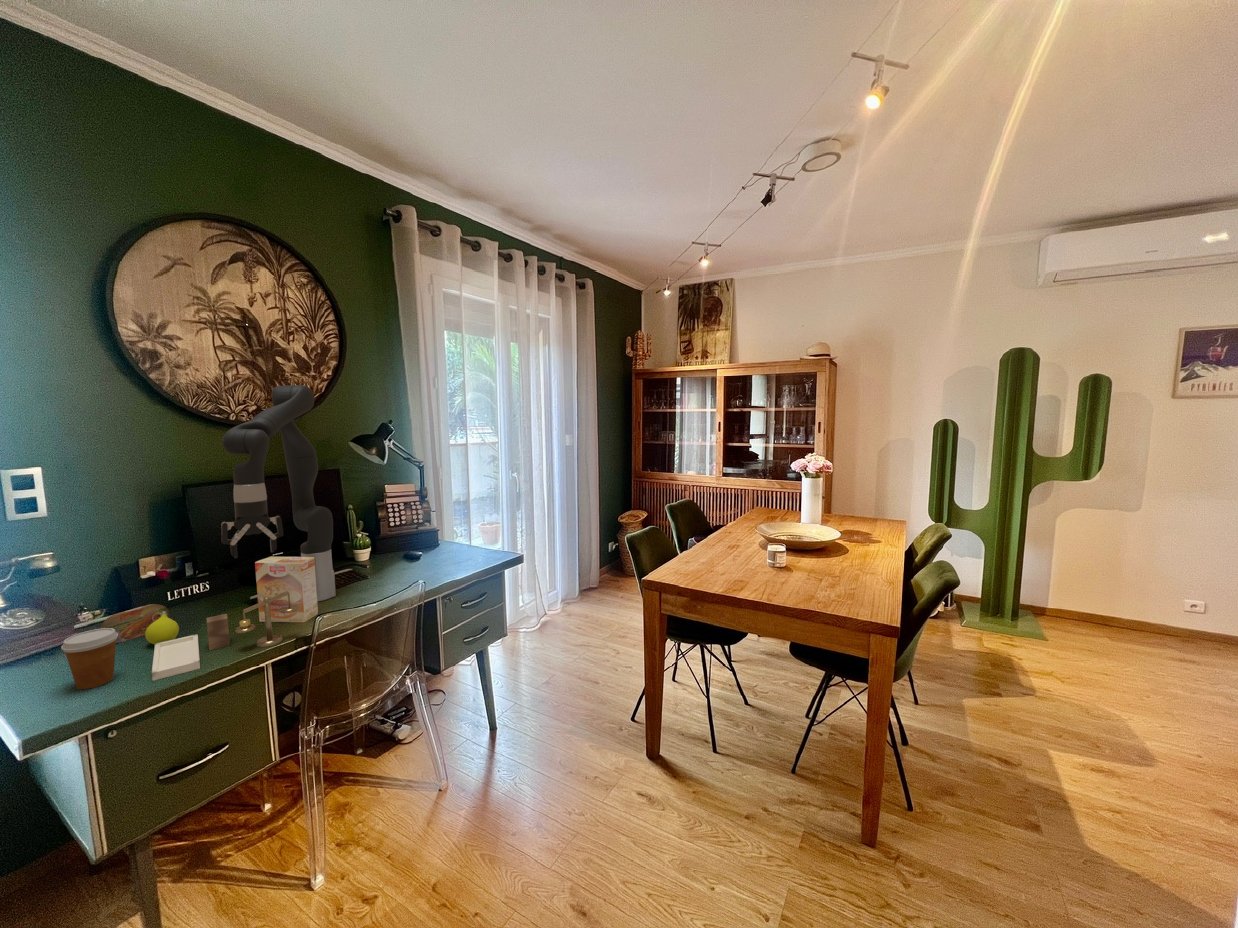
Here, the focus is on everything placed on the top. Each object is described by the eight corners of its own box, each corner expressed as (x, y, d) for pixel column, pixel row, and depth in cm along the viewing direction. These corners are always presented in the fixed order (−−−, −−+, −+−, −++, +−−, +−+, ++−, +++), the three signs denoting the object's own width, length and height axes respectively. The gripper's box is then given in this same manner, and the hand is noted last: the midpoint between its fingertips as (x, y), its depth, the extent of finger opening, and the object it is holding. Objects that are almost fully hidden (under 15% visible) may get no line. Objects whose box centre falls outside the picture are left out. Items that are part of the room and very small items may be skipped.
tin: (104, 647, 140) (101, 619, 139) (100, 645, 141) (96, 617, 140) (171, 627, 153) (168, 600, 152) (166, 625, 154) (164, 599, 154)
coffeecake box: (258, 622, 156) (253, 562, 154) (275, 613, 163) (270, 555, 161) (304, 622, 156) (300, 562, 154) (318, 613, 163) (315, 556, 161)
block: (228, 639, 144) (226, 613, 143) (230, 645, 141) (227, 618, 140) (208, 644, 141) (206, 617, 140) (209, 650, 138) (207, 622, 137)
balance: (299, 631, 149) (295, 586, 148) (302, 638, 145) (299, 591, 143) (235, 647, 139) (231, 599, 138) (237, 654, 135) (233, 605, 133)
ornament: (176, 635, 147) (172, 603, 146) (183, 641, 143) (180, 608, 142) (143, 644, 141) (139, 611, 140) (150, 651, 137) (146, 617, 136)
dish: (198, 640, 144) (197, 634, 143) (200, 668, 128) (199, 660, 128) (155, 650, 138) (155, 643, 137) (152, 680, 122) (151, 673, 122)
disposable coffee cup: (72, 697, 115) (66, 648, 114) (61, 685, 120) (55, 638, 119) (128, 678, 123) (123, 632, 122) (116, 668, 128) (111, 624, 127)
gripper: (278, 495, 149) (282, 547, 150) (217, 500, 139) (222, 556, 141) (282, 498, 143) (286, 552, 145) (219, 503, 134) (224, 562, 135)
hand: (254, 554), depth 143 cm, fingers open, 8 cm apart
